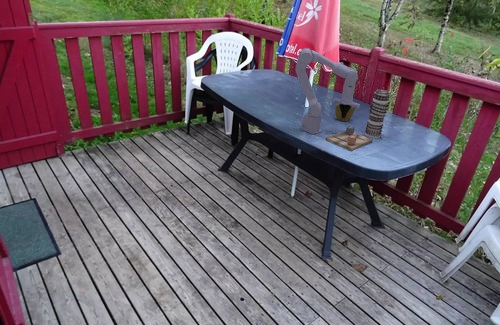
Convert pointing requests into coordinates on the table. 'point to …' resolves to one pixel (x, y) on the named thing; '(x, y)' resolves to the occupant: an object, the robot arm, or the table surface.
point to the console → (342, 139)
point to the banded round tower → (377, 113)
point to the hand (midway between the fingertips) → (343, 117)
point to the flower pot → (348, 116)
